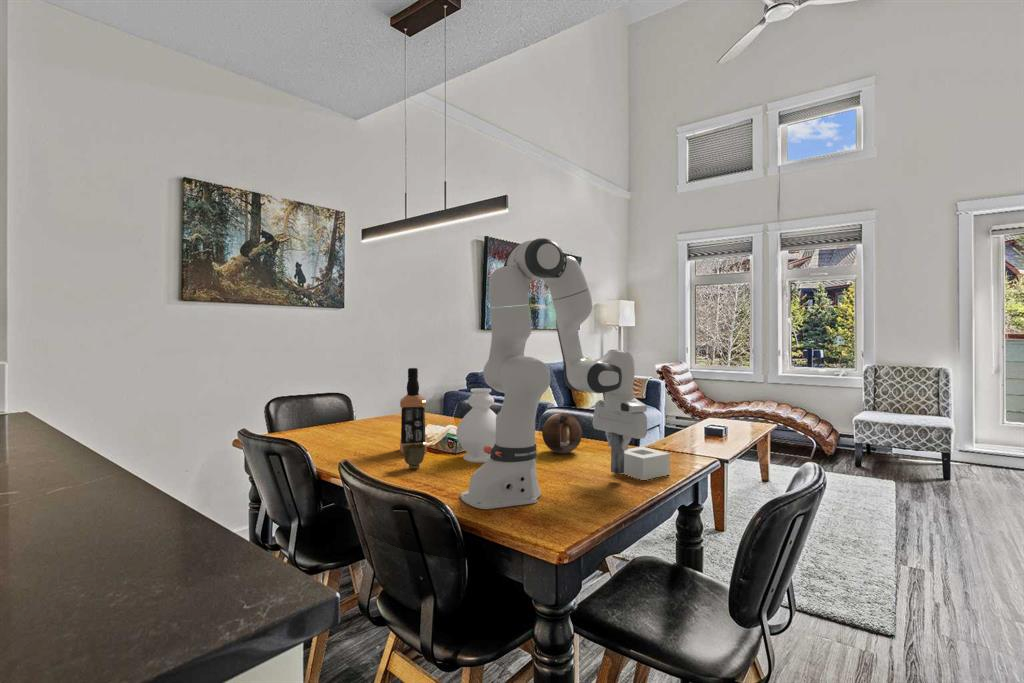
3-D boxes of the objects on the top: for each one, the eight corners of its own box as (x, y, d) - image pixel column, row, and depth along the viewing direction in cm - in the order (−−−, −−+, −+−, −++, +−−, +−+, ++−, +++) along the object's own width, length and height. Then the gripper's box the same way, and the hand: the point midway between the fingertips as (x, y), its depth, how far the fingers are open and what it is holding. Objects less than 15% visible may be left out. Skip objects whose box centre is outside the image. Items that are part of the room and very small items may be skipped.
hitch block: (643, 481, 158) (643, 458, 158) (615, 472, 168) (615, 450, 168) (669, 475, 164) (670, 453, 164) (641, 467, 175) (641, 446, 174)
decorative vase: (475, 467, 175) (475, 393, 174) (446, 457, 188) (446, 389, 188) (515, 459, 186) (515, 389, 185) (486, 450, 200) (486, 385, 199)
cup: (427, 470, 170) (427, 446, 170) (404, 472, 168) (404, 448, 167) (422, 465, 177) (422, 441, 177) (401, 467, 175) (400, 443, 174)
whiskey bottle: (426, 454, 194) (426, 368, 193) (399, 455, 191) (399, 369, 191) (425, 448, 204) (425, 367, 203) (399, 449, 202) (399, 367, 201)
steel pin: (617, 473, 155) (618, 434, 155) (607, 470, 158) (608, 431, 158) (626, 472, 157) (627, 433, 157) (617, 469, 161) (618, 430, 161)
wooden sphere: (547, 447, 205) (547, 409, 205) (585, 450, 200) (585, 411, 200) (537, 455, 191) (537, 415, 190) (577, 459, 186) (577, 417, 186)
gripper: (588, 399, 165) (587, 443, 165) (635, 407, 148) (634, 456, 148) (603, 398, 168) (602, 441, 168) (651, 406, 151) (650, 453, 151)
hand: (617, 448), depth 158 cm, fingers closed on steel pin, 4 cm apart
